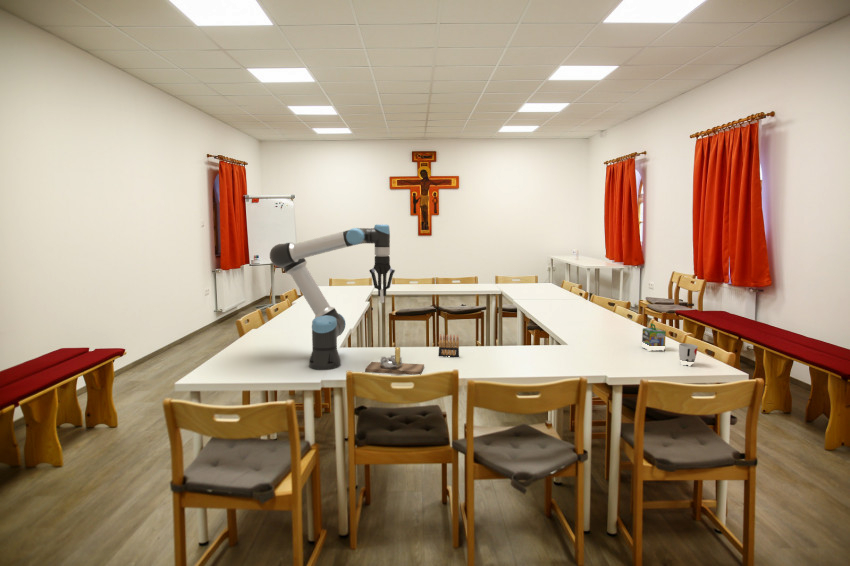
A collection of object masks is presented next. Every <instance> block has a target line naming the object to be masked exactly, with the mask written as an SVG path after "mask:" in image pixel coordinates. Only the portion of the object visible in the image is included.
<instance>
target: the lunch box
mask: <svg viewBox="0 0 850 566" xmlns="http://www.w3.org/2000/svg"><path fill="white" fill-rule="evenodd" d="M666 332H667V331H666V330H663V329H661V328H659V327H658V328H657V327H656V325H655V324H654V323H652V322H650V327H644V328H642V335H641V336H642V337H641V339H642V340H641V343H642V342H643V343H645V344H647V345H649V346H665V347H666Z"/></svg>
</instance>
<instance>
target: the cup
mask: <svg viewBox="0 0 850 566" xmlns="http://www.w3.org/2000/svg"><path fill="white" fill-rule="evenodd" d="M697 353H698V345H695V344H694V343H693V344H691V343H685V342H684V343H683V342H681V343H679V344H678V358H679V361H680V360H682V361H687V362H694V363H695V360H696V357H697Z"/></svg>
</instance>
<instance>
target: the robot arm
mask: <svg viewBox="0 0 850 566" xmlns="http://www.w3.org/2000/svg"><path fill="white" fill-rule="evenodd" d="M390 232H391V231H390V225H389V224H378V223H377V224H374V227H373V228H368V227H367V228H365V227H360V228H359V227H353V228H350V229H348V230H344V231H340V232H336V233H332V234H328V235H325V236H320V237H316V238H312V239H309V240H304V241H302V242H297V243H294V242H285V243H279V244H275V245H273V246H272V248H271V249H270V251H269V259H270V261H271V263H272V264H273V265H274V267H275V266H276V267H278V268H282V269H283V270H284V272H285V274H286V275H290V276H291V277H292V279H293V281H294V283H295V284H296V286H297V287H298V290H299V291H300V292H301V295H302V296H303V297H304V299H305V300H306V303H307V304H308V305H309V307H310V309H311V311H312V312H313V314H314V316H315V317H314V319H312V322H311V337H312V339H311V341H312V343H311V344H312V345H311V346H312V351H311V355H310V356H309V361H308V367H309V368H310V369H314V370H322V371H323V370H331V369H332V370H333V369H337V368H339V367H340V366H341V365H342V360H341V357H340V355H339V350H338V337H339V336H341V335H342V334H343V333H344V331H345V329H346V320H345V318H344V316H343V315H342V314H340V313H338V311H337V310H336V308H335V307H333V306H331V305H330V303H329V302H328V300H327V299H326V297H325V296H324V294H323V292H322V290H321V289H320V288H319V285H318V284H317V282H316V281H315V279H314V277H313V275H311V272H310V271H309V270H308V267H307V260H306V258H309V257H312V256H314V257H315V256H317V255H320V254H325V253H328V252H332V251H337V250H340V249H344V248H348V247H353V246H357V245H362V244H372V245H373V244H374V265H373V268H370V269H369V271H368V272H369V273H370V274H371V278H372V284H373V286H374V289H377V296H378V297H379V299H380V300H379V303H380V304H384V303H385V297H386V296H387V290H388V289H390V288H391V284H392V279H393V275H394V274H395V272H396V270H395V269H393V268H392V267H391V261H390V260H391V257H390V255H391V254H390V253H391V248H390V246H391V243H390V241H391V233H390ZM375 272H376V273H375ZM388 272H389V276H388V281H387V274H388ZM376 274H377V277H376Z"/></svg>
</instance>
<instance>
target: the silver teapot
mask: <svg viewBox="0 0 850 566" xmlns="http://www.w3.org/2000/svg"><path fill="white" fill-rule="evenodd" d="M402 358H403V357H401V347H400V346H395V347H394V355H391V356H390V357H389V356H388V357H386V356H381V358H380V361H379V362H380V366H381V367H382V368H384V369H397V368H400V367H401V366H402V363H403V362H402V361H403V359H402Z"/></svg>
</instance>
